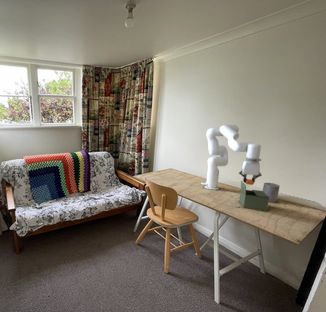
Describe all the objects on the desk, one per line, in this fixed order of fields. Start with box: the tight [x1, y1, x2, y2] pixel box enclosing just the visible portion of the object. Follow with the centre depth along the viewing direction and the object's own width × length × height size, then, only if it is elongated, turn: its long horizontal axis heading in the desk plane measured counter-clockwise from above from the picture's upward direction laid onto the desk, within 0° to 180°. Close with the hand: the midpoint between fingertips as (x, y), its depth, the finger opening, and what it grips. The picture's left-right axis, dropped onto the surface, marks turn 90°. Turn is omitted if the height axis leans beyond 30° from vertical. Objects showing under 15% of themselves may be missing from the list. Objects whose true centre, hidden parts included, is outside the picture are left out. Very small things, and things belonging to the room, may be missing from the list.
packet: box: [245, 178, 254, 186], centre depth 147 cm, size 6×4×3 cm, turn 154°
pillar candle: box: [262, 182, 281, 203], centre depth 158 cm, size 10×10×15 cm
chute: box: [238, 188, 270, 212], centre depth 149 cm, size 14×13×11 cm
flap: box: [240, 180, 247, 194], centre depth 150 cm, size 7×13×1 cm
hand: (248, 182), depth 147 cm, fingers closed on packet, 4 cm apart
